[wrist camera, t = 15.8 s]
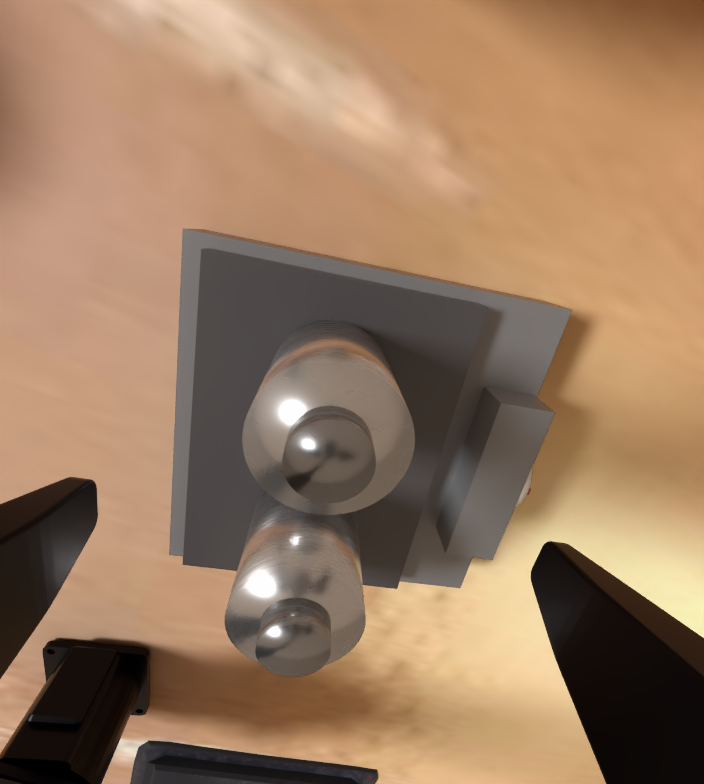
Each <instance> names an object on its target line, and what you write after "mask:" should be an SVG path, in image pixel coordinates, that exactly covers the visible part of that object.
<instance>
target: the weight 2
mask: <svg viewBox="0 0 704 784" xmlns="http://www.w3.org/2000/svg"><path fill="white" fill-rule="evenodd" d="M225 627H226V631H227V634H228V637H229V638H230V640H231V642H232V643H233V644H234V646H235V647H236V648H237V649H238V650H239V651H240V652H241V653H243V654H244V655H245V656H247V657H248V658H250V659H252V660H254V661H256V662H258V663H260V665H261V666H262V667H264V668H265V669H266V670H268V671H270V672H272V673H274V674H277V675H281V676H287V677H299V676H304V675H308V674H311V673H314V672H316V671H317V670H319V669H320V668H322V667H323V666H324V665H327V664H329V663H332V662H334V661H336V660H338V659H339V658H341V657H343V656H344V655H346V654H347V653H348V652H349V651H351V650H352V649H353V648H354V647H355V645H356V644H357V643H358V642H359V640H360V638H361V636H362V634H363V631H364V628H365V606H364V594H363V583H362V571H361V560H360V548H359V537H358V525H357V514H356V511H354V512H349V513H345V514H337V515H320V514H312V513H307V512H303V511H300V510H296V509H294V508H291V507H289V506H287V505H285V504H283V503H281V502H279V501H278V500H276V499H275V498H274V497H272V496H271V495H269V494H268V493H267V492H266V491H265V490H264V491H263V492H262V493H261V495H260V496H259V498H258V501H257V503H256V507H255V510H254V514H253V517H252V521H251V524H250V528H249V531H248V535H247V538H246V542H245V545H244V549H243V553H242V556H241V560H240V563H239V567H238V570H237V574H236V577H235V581H234V584H233V588H232V591H231V595H230V598H229V602H228V606H227V609H226V614H225Z"/></svg>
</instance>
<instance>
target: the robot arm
mask: <svg viewBox="0 0 704 784" xmlns="http://www.w3.org/2000/svg"><path fill="white" fill-rule="evenodd" d="M97 517H98V510H97V488H96V484H95V482H94V481H93V480H90V479H83V478H76V477H69V478H66V479H63V480H61V481H58V482H55V483H53V484H50V485H48V486H45V487H43V488H40V489H38V490H35V491H33V492H30V493H28V494H25V495H23V496H20V497H18V498H15V499H13V500H10V501H8V502H5V503H3V504H0V679H1V677H2V676H3V674H4V673H5V671H6V670H7V669H8V667H9V666H10V664H11V663H12V661H13V660H14V659H15V657H16V656H17V654H18V653H19V651H20V650H21V649H22V647H23V646H24V644H25V643H26V641H27V640H28V638H29V637H30V636H31V634H32V633H33V631H34V630H35V628H36V627H37V626H38V624H39V623H40V621H41V620H42V618H43V617H44V615H45V614H46V612H47V611H48V609H49V607H50V606H51V604H52V602H53V601H54V599H55V597H56V596H57V594H58V592H59V590H60V589H61V587H62V585H63V583H64V582H65V580H66V578H67V576H68V574H69V573H70V571H71V569H72V567H73V566H74V564H75V562H76V560H77V558H78V557H79V555H80V553H81V551H82V549H83V548H84V546H85V544H86V542H87V541H88V539H89V537H90V535H91V533H92V532H93V530H94V528H95V525H96V522H97ZM531 582H532V586H533V589H534V592H535V595H536V598H537V602H538V605H539V608H540V611H541V614H542V618H543V621H544V624H545V627H546V631H547V634H548V637H549V640H550V643H551V646H552V649H553V652H554V655H555V658H556V661H557V664H558V666H559V669H560V671H561V674H562V676H563V679H564V681H565V684H566V686H567V689H568V691H569V694H570V696H571V698H572V701H573V703H574V706H575V708H576V711H577V713H578V716H579V718H580V720H581V723H582V725H583V728H584V730H585V733H586V735H587V738H588V740H589V743H590V745H591V747H592V750H593V752H594V755H595V757H596V760H597V762H598V765H599V767H600V770H601V772H602V774H603V777H604V779H605V782H606V784H704V638H703V637H701V636H700V635H698V634H697V633H695V632H694V631H693V630H691V629H690V628H688V627H687V626H685V625H684V624H682V623H681V622H680V621H678V620H677V619H675V618H674V617H672V616H671V615H669V614H668V613H667V612H665V611H664V610H662V609H661V608H659V607H658V606H657V605H655V604H654V603H652V602H651V601H649V600H648V599H646V598H645V597H644V596H642V595H641V594H639V593H638V592H636V591H635V590H633V589H632V588H631V587H629V586H628V585H626V584H625V583H623V582H622V581H620V580H619V579H618V578H616V577H615V576H613V575H612V574H610V573H609V572H607V571H606V570H605V569H603V568H602V567H600V566H599V565H597V564H596V563H595V562H593V561H592V560H590V559H589V558H587V557H586V556H584V555H583V554H582V553H580V552H579V551H577V550H576V549H574V548H573V547H571V546H570V545H568V544H565V543H559V542H552V541H550V542H547V543H545V544H544V545H543V547H542V549H541V551H540V553H539V555H538V557H537V560H536V562H535V564H534V566H533V568H532V571H531ZM43 659H44V667H45V675H46V683H45V685H44V687H43V688H42V690H41V691H40V693H39V694H38V696H37V697H36V699H35V701H34V702H33V704H32V705H31V707H30V708H29V710H28V712H27V713H26V715H25V716H24V718H23V719H22V721H21V722H20V724H19V726H18V727H17V729H16V730H15V732H14V733H13V735H12V737H11V738H10V740H9V741H8V743H7V744H6V746H5V748H4V749H3V751H2V752H1V754H0V784H101V783H102V781H103V778H104V776H105V774H106V771H107V769H108V766H109V764H110V762H111V759H112V757H113V755H114V752H115V750H116V747H117V745H118V743H119V740H120V738H121V736H122V733H123V731H124V728H125V726H126V724H127V721H128V719H129V717H130V715H145V714H146V712H147V710H148V707H149V687H150V652H149V651H148V650H147V649H144V648H135V647H123V646H112V645H100V644H89V643H77V642H66V641H55V640H54V641H49V642H48V643H47V644H46V645H45V647H44V648H43Z"/></svg>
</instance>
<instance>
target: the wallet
mask: <svg viewBox="0 0 704 784" xmlns="http://www.w3.org/2000/svg"><path fill="white" fill-rule="evenodd" d="M377 779H378V776H377V770H375V769H369V768H362V767H356V766H348V765H340V764H333V763H324V762H316V761H307V760H299V759H291V758H282V757H274V756H265V755H258V754H251V753H244V752H237V751H229V750H222V749H215V748H208V747H200V746H194V745H187V744H180V743H173V742H161V741H148V742H146V743H145V744H143V745H141V746H140V747H139V748H138V751H137V755H136V758H135V761H134V766H133V772H132V778H131V783H130V784H375V783H376V781H377Z"/></svg>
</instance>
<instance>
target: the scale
mask: <svg viewBox="0 0 704 784" xmlns="http://www.w3.org/2000/svg"><path fill="white" fill-rule="evenodd" d="M571 312H572V310H570V309H567V308H564V307H561V306H558V305H554V304H551V303H548V302H545V301H541V300H536V299H532V298H527V297H522V296H517V295H512V294H508V293H503V292H498V291H493V290H489V289H484V288H479V287H474V286H470V285H465V284H460V283H455V282H451V281H446V280H441V279H436V278H432V277H427V276H422V275H417V274H413V273H408V272H403V271H398V270H394V269H389V268H384V267H379V266H375V265H370V264H365V263H360V262H356V261H351V260H346V259H341V258H336V257H332V256H327V255H322V254H317V253H313V252H308V251H303V250H298V249H294V248H289V247H284V246H279V245H275V244H270V243H265V242H260V241H256V240H251V239H246V238H241V237H237V236H232V235H227V234H222V233H218V232H213V231H208V230H203V229H183V238H182V262H181V286H180V310H179V334H178V358H177V382H176V406H175V430H174V454H173V477H172V501H171V525H170V549H169V555H176V556H183V565H190V566H199V567H208V568H217V569H226V570H235V571H237V570H238V567H239V563H240V560H241V556H242V553H243V549H244V545H245V542H246V538H247V535H248V531H249V528H250V524H251V521H252V517H253V514H254V510H255V507H256V503H257V501H258V498H259V496H260V495H261V493H262V492H263V491H264V489H263V488H262V487H261V486H260V485H259V483H258V482H257V481H256V480H255V478H254V477H253V475H252V473H251V472H250V470H249V467H248V465H247V463H246V460H245V456H244V452H243V444H242V436H243V427H244V422H245V419H246V416H247V413H248V411H249V409H250V407H251V405H252V403H253V400H254V398H255V396H256V394H257V392H258V390H259V388H260V386H261V384H262V382H263V379H264V377H265V375H266V373H267V371H268V369H269V367H270V365H271V363H272V361H273V359H274V356H275V354H276V352H277V350H278V349H279V347H280V345H281V344H282V342H283V341H284V340H285V339H286V338H287V337H288V336H289V335H290V334H291V333H292V332H294V331H295V330H296V329H298V328H300V327H301V326H303V325H306V324H308V323H311V322H314V321H319V320H341V321H345V322H349V323H352V324H354V325H356V326H358V327H360V328H362V329H363V330H365V331H366V332H367V333H369V334H370V335H371V336H372V337H373V338H374V339H375V340H376V341H377V343H378V344H379V345H380V347H381V349H382V351H383V352H384V355H385V357H386V359H387V362H388V364H389V366H390V369H391V371H392V373H393V375H394V378H395V380H396V382H397V385H398V387H399V389H400V391H401V394H402V396H403V398H404V401H405V403H406V405H407V408H408V410H409V412H410V415H411V418H412V421H413V425H414V432H415V445H414V452H413V456H412V460H411V462H410V465H409V467H408V469H407V471H406V473H405V475H404V476H403V478H402V479H401V481H400V482H399V483H398V484H397V486H396V487H395V488H394V489H393V490H392V491H391V492H389V493H388V494H387V495H386V496H385V497H383V498H382V499H380V500H379V501H377V502H376V503H374V504H372V505H370V506H368V507H366V508H363V509H360V510H357V511H356V514H357V525H358V537H359V548H360V560H361V571H362V583H363V585H368V586H377V587H386V588H395V589H397V587H398V584H399V581H402V582H411V583H420V584H428V585H437V586H446V587H455V588H460V587H461V585H462V582H463V580H464V577H465V575H466V572H467V570H468V567H469V565H470V562H471V560H472V558H473V557H474V558H482V559H490V560H493V557H494V555H495V553H496V550H497V548H498V546H499V543H500V541H501V539H502V536H503V534H504V532H505V529H506V527H507V525H508V522H509V520H510V518H511V515H512V513H513V511H514V508H515V507H517V506H519V505H520V504H521V503H522V502H523V500H524V499H525V497H526V495H529V492H530V490H531V489H530V484H531V479H532V466H533V464H534V462H535V459H536V457H537V454H538V452H539V450H540V447H541V445H542V443H543V440H544V438H545V436H546V433H547V431H548V429H549V426H550V424H551V422H552V419H553V417H554V415H555V412H554V411H553V410H551V409H550V408H549V407H548V406H546V405H545V404H544V403H543V402H541V401H540V400H539V399H537V396H538V394H539V391H540V389H541V386H542V384H543V381H544V379H545V376H546V374H547V371H548V369H549V366H550V364H551V361H552V359H553V356H554V354H555V351H556V349H557V346H558V344H559V341H560V339H561V336H562V334H563V331H564V329H565V326H566V324H567V322H568V319H569V317H570V314H571Z"/></svg>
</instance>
